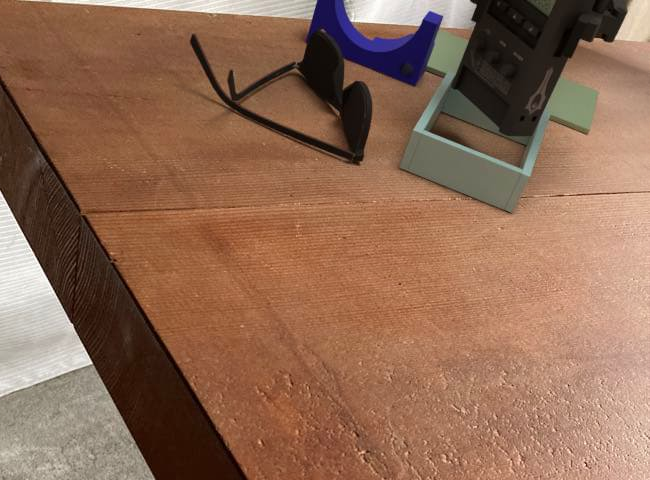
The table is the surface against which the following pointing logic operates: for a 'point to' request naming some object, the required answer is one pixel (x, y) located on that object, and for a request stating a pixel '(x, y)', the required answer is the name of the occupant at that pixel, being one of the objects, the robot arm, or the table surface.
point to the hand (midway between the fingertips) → (528, 21)
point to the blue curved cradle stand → (378, 42)
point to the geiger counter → (517, 60)
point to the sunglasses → (327, 81)
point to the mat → (565, 102)
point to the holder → (469, 153)
